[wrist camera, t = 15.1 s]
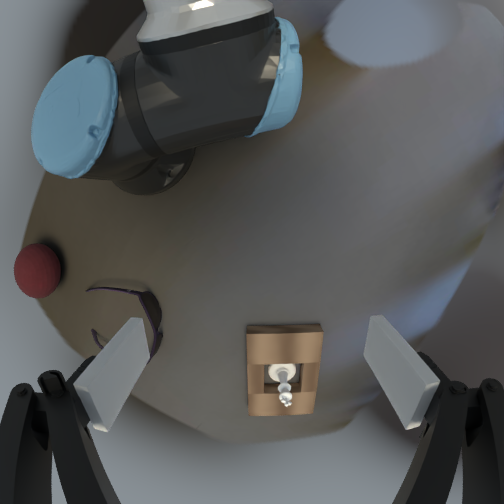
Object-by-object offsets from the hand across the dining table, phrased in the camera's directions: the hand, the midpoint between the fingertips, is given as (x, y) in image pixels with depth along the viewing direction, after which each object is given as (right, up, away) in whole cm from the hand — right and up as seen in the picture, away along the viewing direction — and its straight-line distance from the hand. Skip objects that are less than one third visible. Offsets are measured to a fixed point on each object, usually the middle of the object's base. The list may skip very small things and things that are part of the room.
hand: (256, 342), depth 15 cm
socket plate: (+5, -16, +31) cm, 35 cm away
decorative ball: (-39, +2, +29) cm, 49 cm away
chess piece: (+5, -16, +31) cm, 35 cm away
